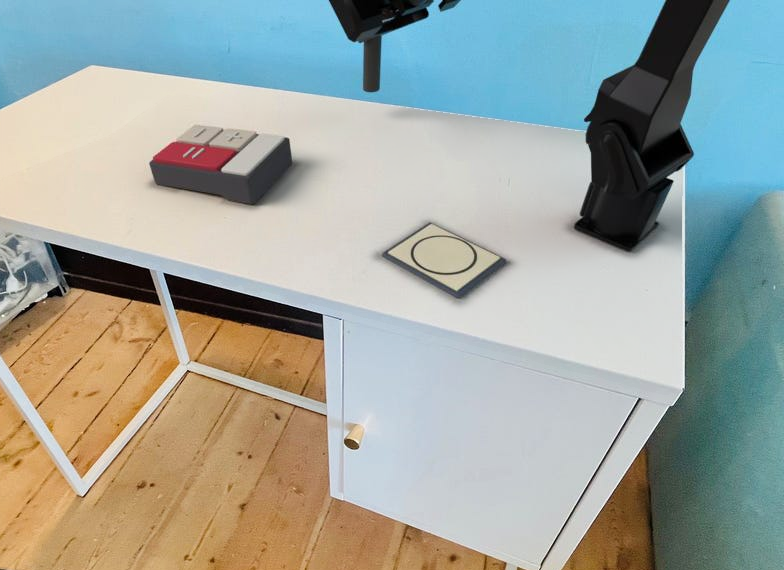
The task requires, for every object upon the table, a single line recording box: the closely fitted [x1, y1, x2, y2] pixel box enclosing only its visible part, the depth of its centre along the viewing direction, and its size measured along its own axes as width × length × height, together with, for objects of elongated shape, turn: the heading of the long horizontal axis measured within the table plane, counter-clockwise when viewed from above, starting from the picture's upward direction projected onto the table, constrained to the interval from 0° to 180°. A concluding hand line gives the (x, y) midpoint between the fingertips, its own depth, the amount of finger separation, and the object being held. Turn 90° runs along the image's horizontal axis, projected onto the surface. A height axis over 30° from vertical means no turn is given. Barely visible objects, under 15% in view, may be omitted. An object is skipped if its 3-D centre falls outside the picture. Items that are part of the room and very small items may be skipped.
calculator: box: [148, 124, 293, 205], centre depth 73 cm, size 11×4×15 cm
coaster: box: [381, 221, 507, 299], centre depth 60 cm, size 10×8×1 cm
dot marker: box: [362, 35, 383, 93], centre depth 78 cm, size 2×2×10 cm
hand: (365, 37), depth 77 cm, fingers closed on dot marker, 2 cm apart
